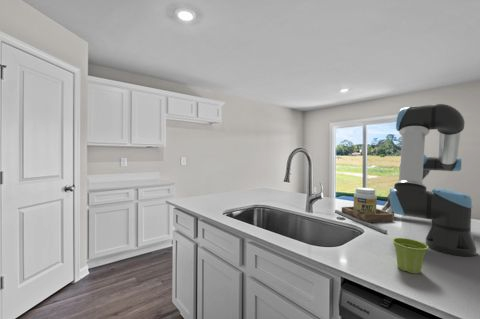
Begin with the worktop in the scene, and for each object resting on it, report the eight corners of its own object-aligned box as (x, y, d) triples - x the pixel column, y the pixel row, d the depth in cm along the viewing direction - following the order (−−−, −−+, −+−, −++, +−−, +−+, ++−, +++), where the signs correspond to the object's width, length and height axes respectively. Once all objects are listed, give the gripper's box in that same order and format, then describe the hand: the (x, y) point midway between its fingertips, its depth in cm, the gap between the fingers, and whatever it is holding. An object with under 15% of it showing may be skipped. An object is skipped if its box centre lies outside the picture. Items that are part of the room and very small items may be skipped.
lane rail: (387, 233, 110) (387, 230, 110) (384, 233, 110) (384, 230, 110) (336, 212, 149) (336, 209, 149) (334, 212, 149) (334, 210, 149)
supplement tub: (355, 218, 136) (355, 189, 135) (351, 213, 147) (352, 186, 147) (378, 220, 132) (379, 190, 131) (373, 215, 144) (374, 187, 143)
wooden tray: (407, 220, 132) (408, 199, 132) (363, 222, 127) (364, 200, 126) (380, 211, 151) (381, 193, 151) (341, 213, 146) (342, 194, 145)
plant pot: (411, 262, 81) (412, 237, 80) (435, 276, 71) (436, 248, 71) (385, 262, 80) (386, 237, 80) (405, 276, 71) (406, 248, 71)
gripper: (426, 190, 135) (401, 219, 133) (401, 186, 152) (378, 212, 149) (418, 181, 134) (393, 210, 132) (394, 178, 151) (371, 204, 148)
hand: (385, 211), depth 140 cm, fingers closed on wooden tray, 4 cm apart
